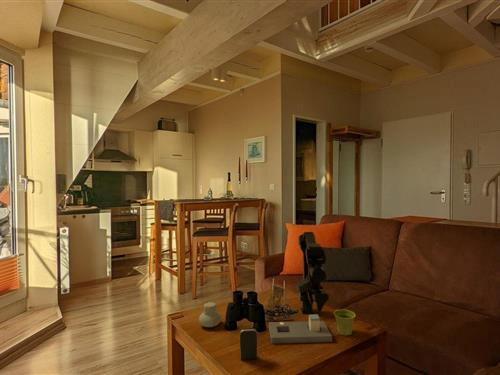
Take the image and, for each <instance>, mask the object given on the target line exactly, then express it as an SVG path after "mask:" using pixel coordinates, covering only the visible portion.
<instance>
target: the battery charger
mask: <svg viewBox="0 0 500 375" xmlns="http://www.w3.org/2000/svg"><path fill="white" fill-rule="evenodd" d="M239 356H240V357H239V359H240V360H241V361H242V360H244V361H245V360H250V361H251V360H257V359H258V332H257V329H256V328H254V327H243V328H241V329H240V331H239Z"/></svg>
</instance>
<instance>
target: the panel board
mask: <svg viewBox="0 0 500 375" xmlns="http://www.w3.org/2000/svg"><path fill="white" fill-rule="evenodd" d="M268 330H269V336H270V342H271V344H296V343H297V344H299V343H300V344H301V343H304V344H305V343H307V344H308V343H332V342H333V335H332V334H331V332H330V330H329V328H328V327H327V325H326V323H325V322H324V320H320V331H316V332H309V320H307V321H302V320H301V321H275V322H274V321H272V322H271V321H270V322H268Z"/></svg>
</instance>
